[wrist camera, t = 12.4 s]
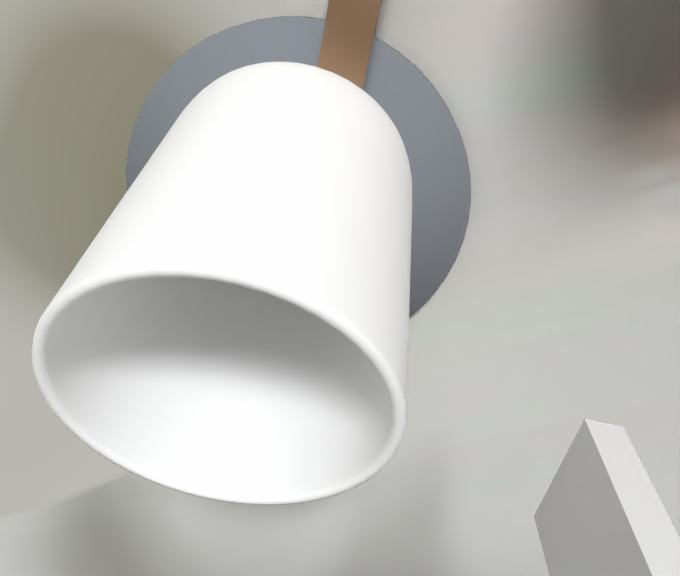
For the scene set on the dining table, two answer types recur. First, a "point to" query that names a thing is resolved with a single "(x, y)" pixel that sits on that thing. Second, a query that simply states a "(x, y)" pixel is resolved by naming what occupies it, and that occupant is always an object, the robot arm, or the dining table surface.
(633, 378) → the dining table surface
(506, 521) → the dining table surface
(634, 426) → the dining table surface
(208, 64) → the coaster
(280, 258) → the mug
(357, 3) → the cradle
